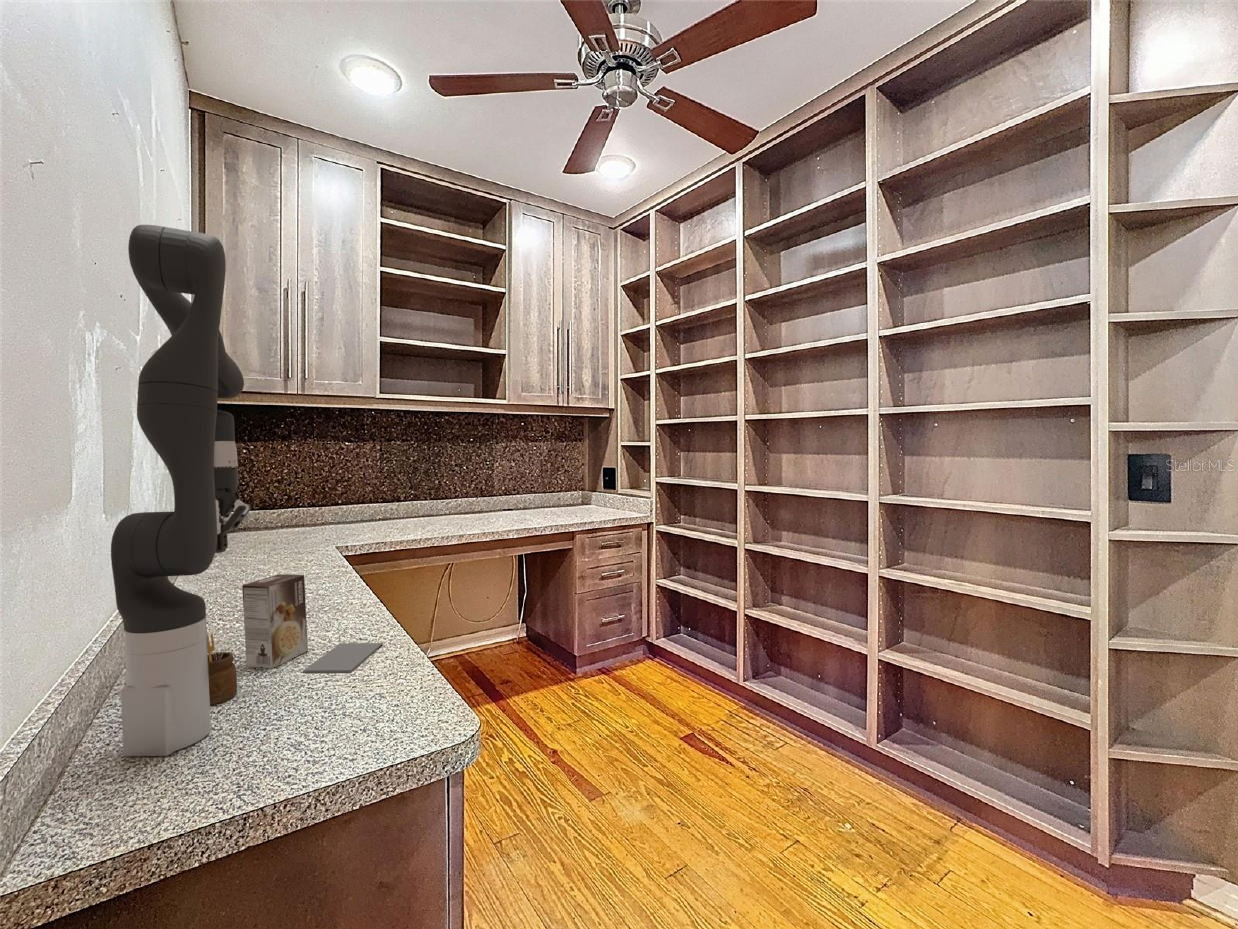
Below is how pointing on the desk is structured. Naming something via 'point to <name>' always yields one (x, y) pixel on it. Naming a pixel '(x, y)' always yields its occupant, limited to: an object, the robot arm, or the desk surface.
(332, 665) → the grey flat board
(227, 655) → the utensil holder
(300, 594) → the coffee box
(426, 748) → the desk surface
